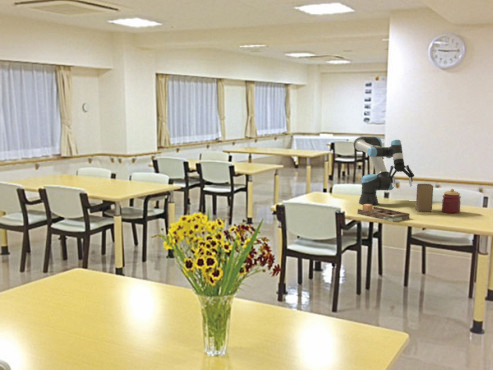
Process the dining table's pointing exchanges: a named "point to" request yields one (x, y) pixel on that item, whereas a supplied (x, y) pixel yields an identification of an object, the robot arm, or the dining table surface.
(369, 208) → the terracotta cube
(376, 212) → the trap tray
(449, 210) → the canister
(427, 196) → the block
